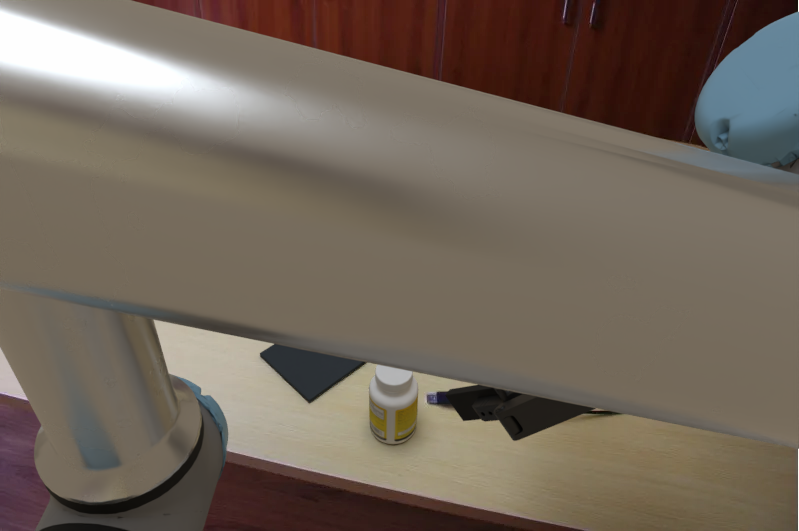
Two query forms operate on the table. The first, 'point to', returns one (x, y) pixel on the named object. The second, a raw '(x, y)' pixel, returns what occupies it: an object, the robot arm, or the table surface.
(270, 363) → the mat
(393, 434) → the supplement bottle
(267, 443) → the table surface
